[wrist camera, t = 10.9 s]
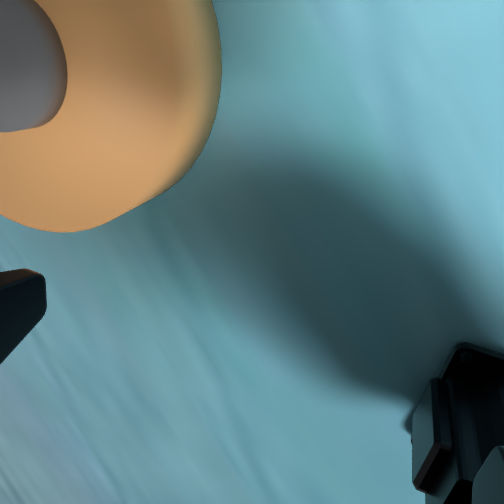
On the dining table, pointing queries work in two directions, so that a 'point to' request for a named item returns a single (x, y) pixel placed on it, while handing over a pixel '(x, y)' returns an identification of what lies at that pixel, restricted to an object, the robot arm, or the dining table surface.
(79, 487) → the dining table surface
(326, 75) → the dining table surface
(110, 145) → the orange and grey base
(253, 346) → the dining table surface
